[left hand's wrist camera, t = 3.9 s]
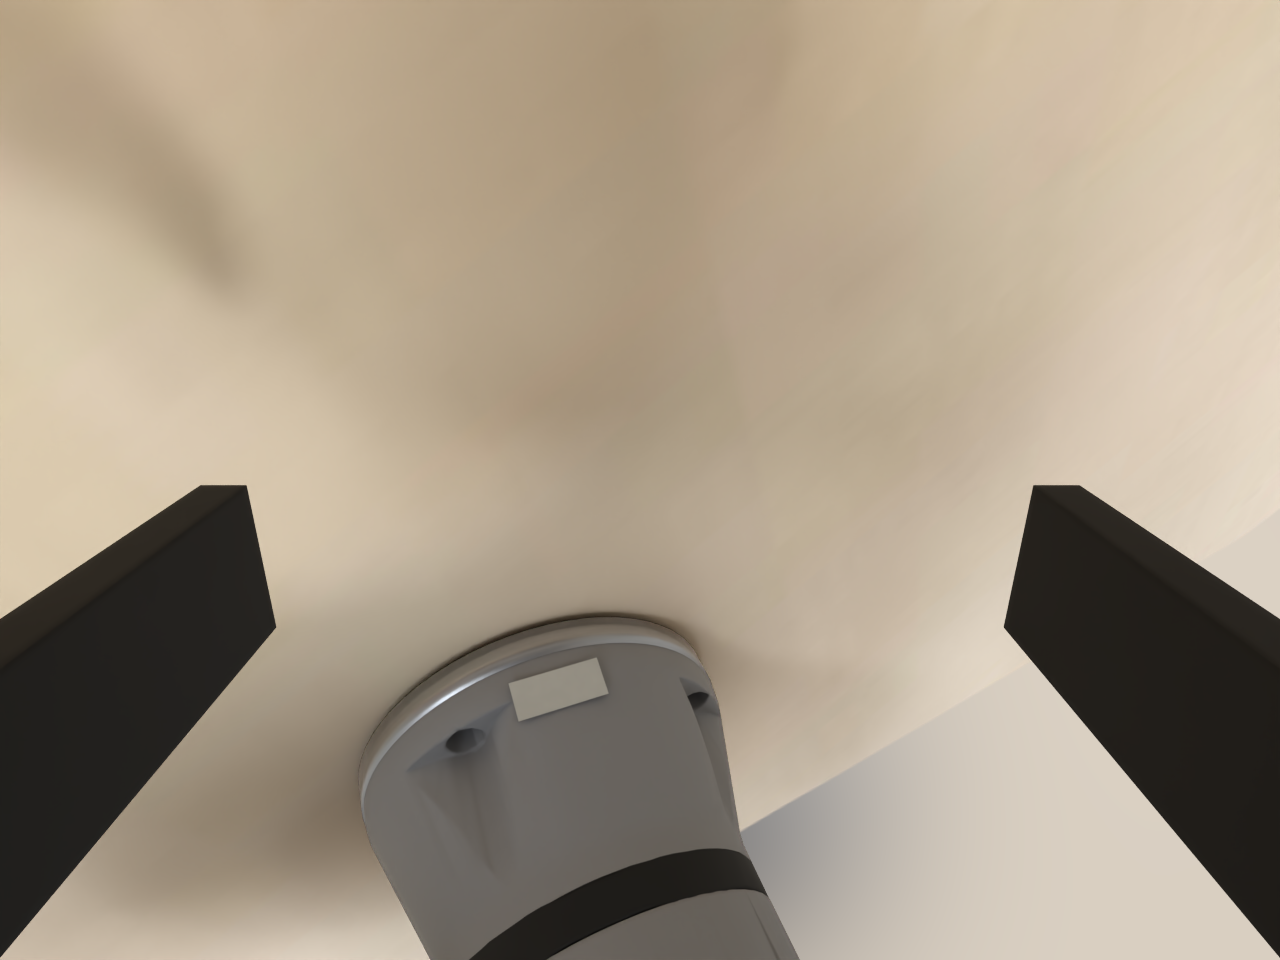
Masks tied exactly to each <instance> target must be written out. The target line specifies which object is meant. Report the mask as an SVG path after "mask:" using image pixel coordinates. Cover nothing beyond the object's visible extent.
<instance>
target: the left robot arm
mask: <svg viewBox="0 0 1280 960" xmlns="http://www.w3.org/2000/svg"><path fill="white" fill-rule="evenodd" d="M275 628H276V624H275V619H274V614H273V609H272V605H271V600H270V595H269V590H268V586H267V581H266V576H265V571H264V567H263V562H262V557H261V552H260V547H259V543H258V538H257V533H256V528H255V524H254V519H253V514H252V509H251V505H250V500H249V495H248V490H247V485H200V486H199V487H197V488H196V489H194V490H193V491H191V492H190V493H188V494H187V495H185V496H184V497H182V498H181V499H179V500H178V501H176V502H175V503H173V504H172V505H170V506H169V507H167V508H166V509H164V510H163V511H161V512H160V513H158V514H157V515H155V516H154V517H152V518H151V519H149V520H148V521H146V522H145V523H143V524H142V525H140V526H139V527H137V528H136V529H134V530H133V531H131V532H130V533H128V534H127V535H125V536H124V537H122V538H121V539H119V540H118V541H116V542H115V543H113V544H112V545H110V546H109V547H107V548H106V549H104V550H103V551H101V552H100V553H98V554H97V555H95V556H94V557H92V558H91V559H89V560H88V561H86V562H85V563H83V564H82V565H80V566H79V567H77V568H76V569H74V570H73V571H71V572H70V573H68V574H67V575H65V576H64V577H62V578H61V579H59V580H58V581H56V582H55V583H54V584H52V585H51V586H49V587H48V588H46V589H45V590H43V591H42V592H40V593H39V594H37V595H36V596H34V597H33V598H31V599H30V600H28V601H27V602H25V603H24V604H22V605H21V606H19V607H18V608H16V609H15V610H13V611H12V612H10V613H9V614H7V615H6V616H4V617H3V618H1V619H0V957H1V956H2V955H3V954H4V952H5V951H6V950H7V949H8V948H9V946H10V945H11V944H12V943H13V942H14V940H15V939H16V938H17V937H18V936H19V934H20V933H21V932H22V931H23V930H24V928H25V927H26V926H27V925H28V924H29V922H30V921H31V920H32V919H33V918H34V916H35V915H36V914H37V913H38V912H39V910H40V909H41V908H42V907H43V906H44V905H45V903H46V902H47V901H48V900H49V899H50V897H51V896H52V895H53V894H54V893H55V891H56V890H57V889H58V888H59V887H60V885H61V884H62V883H63V882H64V881H65V879H66V878H67V877H68V876H69V875H70V873H71V872H72V871H73V870H74V869H75V867H76V866H77V865H78V864H79V863H80V861H81V860H82V859H83V858H84V857H85V855H86V854H87V853H88V852H89V851H90V849H91V848H92V847H93V846H94V845H95V843H96V842H97V841H98V840H99V839H100V838H101V836H102V835H103V834H104V833H105V832H106V830H107V829H108V828H109V827H110V826H111V824H112V823H113V822H114V821H115V820H116V818H117V817H118V816H119V815H120V814H121V812H122V811H123V810H124V809H125V808H126V806H127V805H128V804H129V803H130V802H131V800H132V799H133V798H134V797H135V796H136V794H137V793H138V792H139V791H140V790H141V788H142V787H143V786H144V785H145V784H146V782H147V781H148V780H149V779H150V778H151V777H152V775H153V774H154V773H155V772H156V771H157V769H158V768H159V767H160V766H161V765H162V763H163V762H164V761H165V760H166V759H167V757H168V756H169V755H170V754H171V753H172V751H173V750H174V749H175V748H176V747H177V745H178V744H179V743H180V742H181V741H182V739H183V738H184V737H185V736H186V735H187V733H188V732H189V731H190V730H191V729H192V727H193V726H194V725H195V724H196V723H197V721H198V720H199V719H200V718H201V717H202V716H203V714H204V713H205V712H206V711H207V710H208V708H209V707H210V706H211V705H212V704H213V702H214V701H215V700H216V699H217V698H218V696H219V695H220V694H221V693H222V692H223V690H224V689H225V688H226V687H227V686H228V684H229V683H230V682H231V681H232V680H233V678H234V677H235V676H236V675H237V674H238V672H239V671H240V670H241V669H242V668H243V666H244V665H245V664H246V663H247V662H248V660H249V659H250V658H251V657H252V656H253V654H254V653H255V652H256V651H257V650H258V649H259V647H260V646H261V645H262V644H263V643H264V641H265V640H266V639H267V638H268V637H269V635H270V634H271V633H272V632H273V631H274V629H275ZM1004 628H1005V629H1006V631H1007V632H1008V633H1009V634H1010V635H1011V637H1012V638H1013V639H1014V640H1015V641H1016V643H1017V644H1018V645H1019V646H1020V647H1021V649H1022V650H1023V651H1024V652H1025V653H1026V654H1027V656H1028V657H1029V658H1030V659H1031V660H1032V662H1033V663H1034V664H1035V665H1036V666H1037V668H1038V669H1039V670H1040V671H1041V672H1042V674H1043V675H1044V676H1045V677H1046V678H1047V680H1048V681H1049V682H1050V683H1051V684H1052V686H1053V687H1054V688H1055V689H1056V690H1057V692H1058V693H1059V694H1060V695H1061V696H1062V698H1063V699H1064V700H1065V701H1066V702H1067V703H1068V705H1069V706H1070V707H1071V708H1072V710H1073V711H1074V712H1075V713H1076V714H1077V715H1078V717H1079V718H1080V719H1081V720H1082V721H1083V723H1084V724H1085V725H1086V726H1087V727H1088V729H1089V730H1090V731H1091V732H1092V733H1093V735H1094V736H1095V737H1096V738H1097V739H1098V741H1099V742H1100V743H1101V744H1102V745H1103V747H1104V748H1105V749H1106V750H1107V751H1108V753H1109V754H1110V755H1111V756H1112V757H1113V759H1114V760H1115V761H1116V762H1117V763H1118V765H1119V766H1120V767H1121V768H1122V769H1123V771H1124V772H1125V773H1126V774H1127V775H1128V776H1129V778H1130V779H1131V780H1132V781H1133V782H1134V784H1135V785H1136V786H1137V787H1138V788H1139V790H1140V791H1141V792H1142V793H1143V794H1144V796H1145V797H1146V798H1147V799H1148V800H1149V802H1150V803H1151V804H1152V805H1153V806H1154V808H1155V809H1156V810H1157V811H1158V812H1159V814H1160V815H1161V816H1162V817H1163V818H1164V820H1165V821H1166V822H1167V823H1168V824H1169V826H1170V827H1171V828H1172V829H1173V830H1174V832H1175V833H1176V834H1177V835H1178V836H1179V837H1180V839H1181V840H1182V841H1183V842H1184V843H1185V845H1186V846H1187V847H1188V848H1189V849H1190V851H1191V852H1192V853H1193V854H1194V855H1195V857H1196V858H1197V859H1198V860H1199V861H1200V863H1201V864H1202V865H1203V866H1204V867H1205V869H1206V870H1207V871H1208V872H1209V873H1210V875H1211V876H1212V877H1213V878H1214V879H1215V881H1216V882H1217V883H1218V884H1219V885H1220V887H1221V888H1222V889H1223V890H1224V891H1225V892H1226V894H1227V895H1228V896H1229V897H1230V898H1231V900H1232V901H1233V902H1234V903H1235V904H1236V906H1237V907H1238V908H1239V909H1240V910H1241V912H1242V913H1243V914H1244V915H1245V916H1246V918H1247V919H1248V920H1249V921H1250V922H1251V924H1252V925H1253V926H1254V927H1255V928H1256V930H1257V931H1258V932H1259V933H1260V934H1261V936H1262V937H1263V938H1264V939H1265V940H1266V942H1267V943H1268V944H1269V945H1270V946H1271V948H1272V949H1273V950H1274V951H1275V952H1276V954H1277V955H1278V956H1279V957H1280V619H1279V618H1277V617H1276V616H1274V615H1273V614H1271V613H1270V612H1268V611H1267V610H1265V609H1264V608H1262V607H1261V606H1259V605H1258V604H1256V603H1255V602H1253V601H1252V600H1250V599H1249V598H1247V597H1246V596H1244V595H1243V594H1241V593H1240V592H1238V591H1237V590H1235V589H1234V588H1232V587H1231V586H1229V585H1228V584H1226V583H1225V582H1224V581H1222V580H1221V579H1219V578H1218V577H1216V576H1215V575H1213V574H1211V573H1210V572H1209V571H1207V570H1206V569H1204V568H1203V567H1201V566H1200V565H1198V564H1197V563H1195V562H1194V561H1192V560H1191V559H1189V558H1188V557H1186V556H1185V555H1183V554H1182V553H1180V552H1179V551H1177V550H1176V549H1174V548H1173V547H1171V546H1170V545H1168V544H1167V543H1165V542H1164V541H1162V540H1161V539H1159V538H1158V537H1156V536H1155V535H1153V534H1152V533H1150V532H1149V531H1147V530H1146V529H1144V528H1143V527H1141V526H1140V525H1138V524H1137V523H1135V522H1134V521H1132V520H1131V519H1129V518H1128V517H1126V516H1125V515H1123V514H1122V513H1120V512H1119V511H1117V510H1116V509H1114V508H1113V507H1111V506H1110V505H1108V504H1107V503H1105V502H1104V501H1102V500H1101V499H1099V498H1098V497H1096V496H1095V495H1093V494H1092V493H1090V492H1089V491H1087V490H1086V489H1084V488H1083V487H1081V486H1080V485H1033V490H1032V495H1031V500H1030V505H1029V509H1028V514H1027V519H1026V524H1025V528H1024V533H1023V538H1022V543H1021V547H1020V552H1019V557H1018V562H1017V567H1016V571H1015V576H1014V581H1013V586H1012V590H1011V595H1010V600H1009V605H1008V609H1007V614H1006V619H1005V624H1004ZM358 782H359V791H360V800H361V809H362V816H363V821H364V823H365V826H366V830H367V834H368V838H369V841H370V844H371V846H372V849H373V851H374V853H375V854H376V856H377V858H378V860H379V862H380V864H381V866H382V868H383V870H384V872H385V874H386V876H387V877H388V879H389V881H390V883H391V885H392V887H393V889H394V891H395V893H396V895H397V897H398V899H399V900H400V902H401V904H402V906H403V908H404V910H405V912H406V914H407V916H408V918H409V920H410V922H411V923H412V925H413V927H414V929H415V931H416V933H417V935H418V937H419V939H420V941H421V943H422V944H423V946H424V948H425V950H426V952H427V954H428V956H429V958H430V960H800V959H799V957H798V955H797V953H796V951H795V949H794V947H793V945H792V943H791V941H790V939H789V937H788V935H787V933H786V931H785V929H784V927H783V925H782V923H781V921H780V919H779V917H778V915H777V913H776V911H775V909H774V907H773V905H772V903H771V901H770V899H769V898H768V895H767V893H766V891H765V889H764V887H763V885H762V883H761V881H760V879H759V877H758V875H757V872H756V870H755V868H754V866H753V864H752V862H751V860H750V858H749V855H748V853H747V851H746V849H745V847H744V845H743V841H742V838H741V835H740V831H739V825H738V818H737V812H736V806H735V800H734V794H733V788H732V782H731V776H730V770H729V764H728V758H727V752H726V745H725V739H724V733H723V727H722V721H721V715H720V710H719V705H718V701H717V698H716V695H715V692H714V689H713V687H712V684H711V681H710V678H709V677H708V675H707V673H706V671H705V669H704V667H703V665H702V664H701V662H700V660H699V658H698V656H697V654H696V652H695V651H694V649H693V648H692V647H691V645H690V644H689V643H688V642H687V641H686V640H685V639H684V638H683V637H681V636H680V635H678V634H677V633H675V632H674V631H672V630H670V629H668V628H666V627H664V626H661V625H658V624H655V623H652V622H648V621H643V620H638V619H631V618H621V617H597V618H584V619H576V620H568V621H563V622H558V623H553V624H548V625H544V626H541V627H537V628H533V629H529V630H526V631H523V632H520V633H517V634H514V635H511V636H508V637H506V638H503V639H501V640H498V641H496V642H493V643H491V644H488V645H486V646H484V647H482V648H480V649H478V650H475V651H473V652H471V653H469V654H467V655H466V656H464V657H462V658H460V659H458V660H456V661H455V662H453V663H451V664H449V665H448V666H446V667H445V668H443V669H441V670H440V671H438V672H437V673H435V674H434V675H432V676H431V677H430V678H428V679H427V680H425V681H424V682H423V683H421V684H420V685H419V686H417V687H416V688H415V689H414V690H413V691H411V692H410V693H409V694H408V695H407V696H405V697H404V698H403V699H402V700H401V701H400V702H399V703H398V704H397V705H396V706H395V707H394V708H393V709H392V710H391V711H390V712H389V714H388V715H387V716H386V717H385V718H384V719H383V721H382V722H381V723H380V725H379V726H378V727H377V729H376V730H375V732H374V733H373V735H372V736H371V738H370V740H369V742H368V744H367V746H366V748H365V750H364V753H363V755H362V758H361V762H360V767H359V777H358Z"/></svg>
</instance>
